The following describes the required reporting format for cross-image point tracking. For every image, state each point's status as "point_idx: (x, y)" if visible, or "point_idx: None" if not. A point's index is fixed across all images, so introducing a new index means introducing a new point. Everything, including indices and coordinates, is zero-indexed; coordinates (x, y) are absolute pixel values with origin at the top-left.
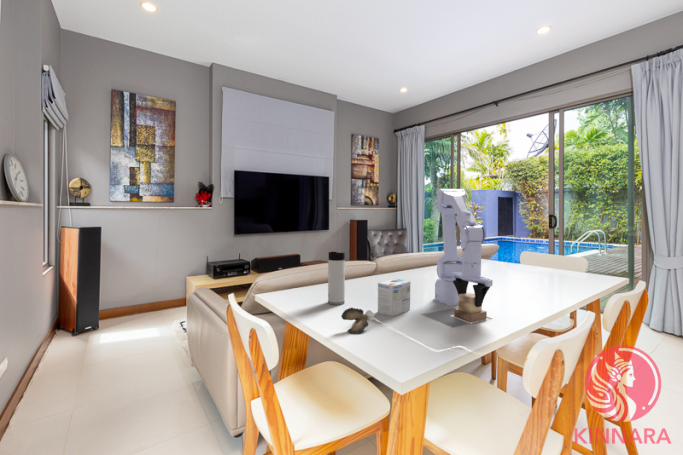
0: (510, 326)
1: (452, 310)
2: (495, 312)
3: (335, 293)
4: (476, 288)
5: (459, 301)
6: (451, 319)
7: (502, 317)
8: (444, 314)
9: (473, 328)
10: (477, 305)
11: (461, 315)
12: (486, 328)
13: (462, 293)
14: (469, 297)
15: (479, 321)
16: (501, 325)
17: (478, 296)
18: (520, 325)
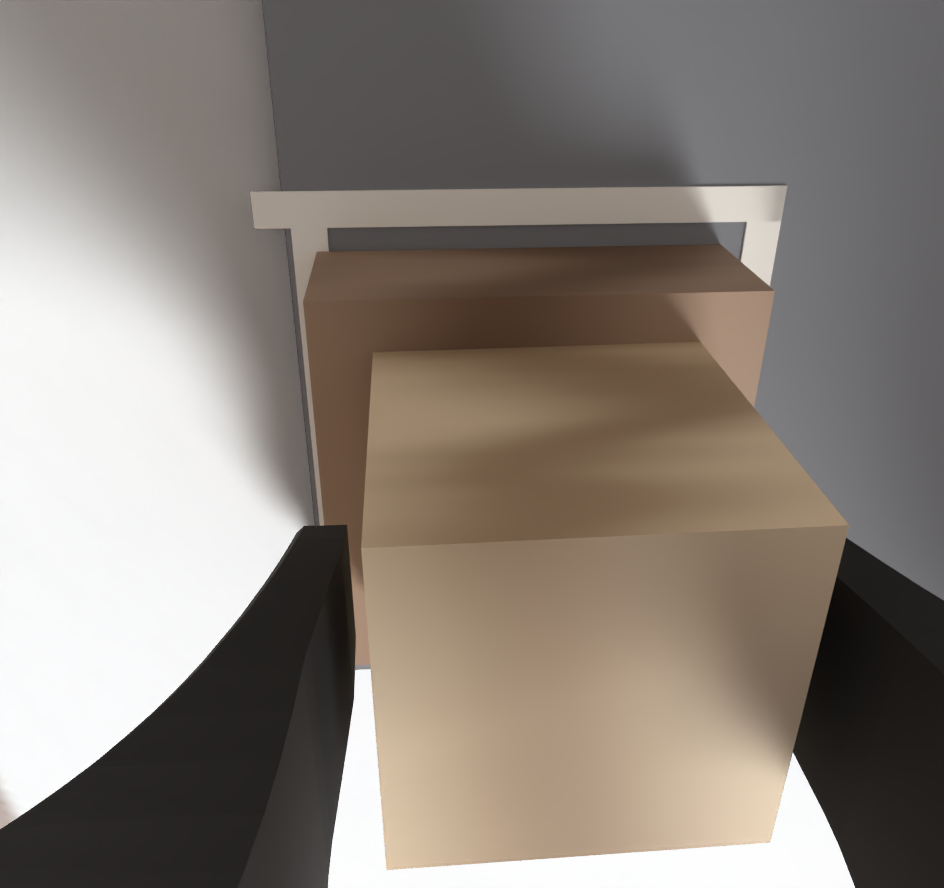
0: (33, 655)
1: (922, 454)
2: (534, 865)
3: None
4: (58, 874)
5: (731, 421)
6: (620, 33)
7: (357, 808)
8: (893, 152)
9: (110, 81)
10: (290, 546)
11: (555, 266)
12: (47, 298)
13: (844, 685)
14: (426, 542)
15: (308, 419)
16: (102, 590)
17: (176, 692)
18: (34, 771)
